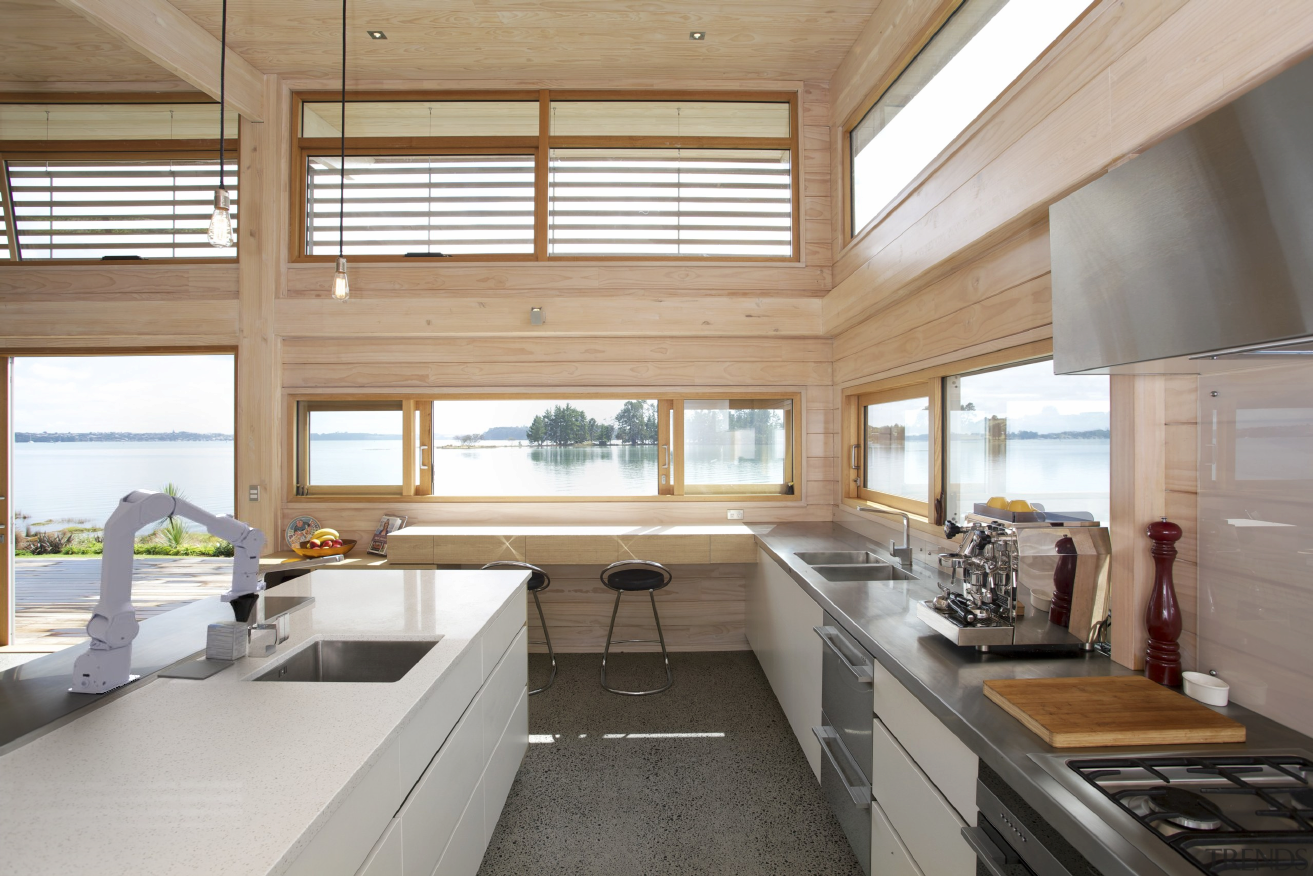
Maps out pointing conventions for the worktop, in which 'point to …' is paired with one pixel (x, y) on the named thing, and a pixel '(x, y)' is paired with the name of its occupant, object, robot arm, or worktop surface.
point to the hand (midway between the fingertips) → (241, 622)
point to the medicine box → (226, 640)
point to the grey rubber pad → (196, 669)
